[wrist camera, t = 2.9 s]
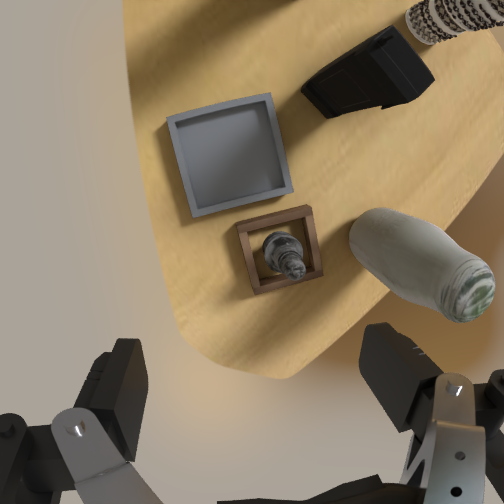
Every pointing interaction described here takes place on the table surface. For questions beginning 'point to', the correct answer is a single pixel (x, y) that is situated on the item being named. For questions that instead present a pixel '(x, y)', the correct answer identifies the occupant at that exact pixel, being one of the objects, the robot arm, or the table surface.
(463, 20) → the decorative candle
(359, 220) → the glass bottle
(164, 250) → the table surface
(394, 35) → the portable radio
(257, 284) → the walnut collar
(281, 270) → the dark grey chess piece
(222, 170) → the grey tray
